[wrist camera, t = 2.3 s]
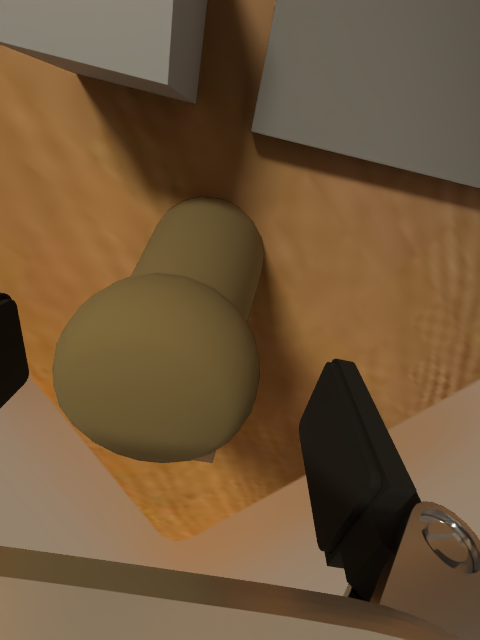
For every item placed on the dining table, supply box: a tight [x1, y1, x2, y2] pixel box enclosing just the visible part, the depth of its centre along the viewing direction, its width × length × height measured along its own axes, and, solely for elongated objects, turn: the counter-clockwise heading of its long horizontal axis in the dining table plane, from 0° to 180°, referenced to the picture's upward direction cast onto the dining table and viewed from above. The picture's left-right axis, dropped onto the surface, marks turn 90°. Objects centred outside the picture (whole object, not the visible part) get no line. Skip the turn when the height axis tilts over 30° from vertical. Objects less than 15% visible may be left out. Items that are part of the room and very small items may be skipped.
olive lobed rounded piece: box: [53, 197, 264, 463], centre depth 11 cm, size 6×6×11 cm
